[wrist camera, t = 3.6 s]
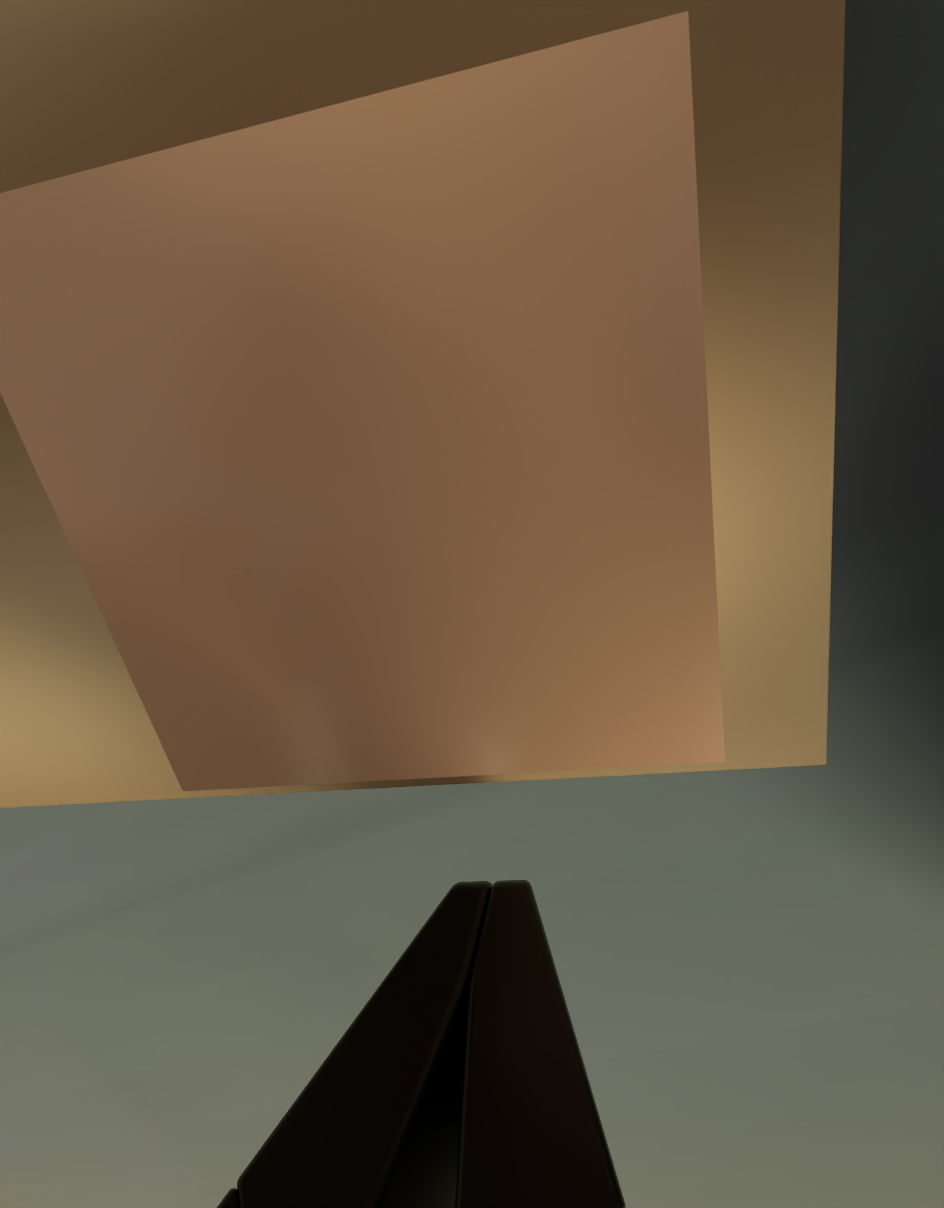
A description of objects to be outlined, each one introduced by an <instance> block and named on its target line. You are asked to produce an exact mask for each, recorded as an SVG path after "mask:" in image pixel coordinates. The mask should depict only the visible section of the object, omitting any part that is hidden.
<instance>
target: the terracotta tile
mask: <svg viewBox="0 0 944 1208" xmlns="http://www.w3.org/2000/svg"><path fill="white" fill-rule="evenodd" d="M0 393H1V395H2V397H3V400H4V402H5V404H6V406H7V408H8V411H9V413H10V415H11V417H12V419H13V422H14V424H15V426H16V428H17V430H18V432H19V435H20V437H21V439H22V441H23V443H24V446H25V448H26V450H27V452H28V454H29V456H30V459H31V461H32V463H33V465H34V467H35V470H36V472H37V474H38V476H39V478H40V480H41V483H42V485H43V487H44V489H45V491H46V494H47V496H48V498H49V500H50V502H51V505H52V507H53V509H54V511H55V513H56V515H57V518H58V520H59V522H60V524H61V526H62V529H63V531H64V533H65V535H66V537H67V539H68V542H69V544H70V546H71V548H72V550H73V553H74V555H75V557H76V559H77V561H78V563H79V566H80V568H81V570H82V572H83V574H84V577H85V579H86V581H87V583H88V585H89V588H90V590H91V592H92V594H93V596H94V598H95V601H96V603H97V605H98V607H99V609H100V612H101V614H102V616H103V618H104V620H105V622H106V625H107V627H108V629H109V631H110V633H111V636H112V638H113V640H114V642H115V644H116V646H117V649H118V651H119V653H120V655H121V657H122V660H123V662H124V664H125V666H126V668H127V671H128V673H129V675H130V677H131V679H132V681H133V684H134V686H135V688H136V690H137V692H138V695H139V697H140V699H141V701H142V703H143V705H144V708H145V710H146V712H147V714H148V716H149V719H150V721H151V723H152V725H153V727H154V729H155V732H156V734H157V736H158V738H159V740H160V743H161V745H162V747H163V749H164V751H165V754H166V756H167V758H168V760H169V762H170V764H171V767H172V769H173V771H174V773H175V775H176V778H177V780H178V782H179V784H180V786H181V788H182V791H201V790H219V789H238V788H256V787H274V786H293V785H311V784H329V783H348V782H366V781H385V780H403V779H421V778H440V777H458V776H476V775H495V774H513V773H531V772H550V771H568V770H587V769H605V768H623V767H642V766H660V765H678V764H697V763H715V762H725V750H724V730H723V710H722V689H721V669H720V649H719V628H718V608H717V587H716V567H715V547H714V526H713V506H712V486H711V465H710V445H709V425H708V404H707V384H706V364H705V343H704V323H703V302H702V282H701V262H700V241H699V221H698V201H697V180H696V160H695V140H694V119H693V99H692V79H691V58H690V38H689V17H688V11H686V12H682V13H678V14H674V15H671V16H667V17H663V18H659V19H655V20H652V21H648V22H644V23H640V24H637V25H633V26H629V27H625V28H621V29H618V30H614V31H610V32H606V33H603V34H599V35H595V36H591V37H588V38H584V39H580V40H576V41H572V42H569V43H565V44H561V45H557V46H554V47H550V48H546V49H542V50H538V51H535V52H531V53H527V54H523V55H520V56H516V57H512V58H508V59H505V60H501V61H497V62H493V63H489V64H486V65H482V66H478V67H474V68H471V69H467V70H463V71H459V72H455V73H452V74H448V75H444V76H440V77H437V78H433V79H429V80H425V81H421V82H418V83H414V84H410V85H406V86H403V87H399V88H395V89H391V90H388V91H384V92H380V93H376V94H372V95H369V96H365V97H361V98H357V99H354V100H350V101H346V102H342V103H338V104H335V105H331V106H327V107H323V108H320V109H316V110H312V111H308V112H305V113H301V114H297V115H293V116H289V117H286V118H282V119H278V120H274V121H271V122H267V123H263V124H259V125H255V126H252V127H248V128H244V129H240V130H237V131H233V132H229V133H225V134H221V135H218V136H214V137H210V138H206V139H203V140H199V141H195V142H191V143H188V144H184V145H180V146H176V147H172V148H169V149H165V150H161V151H157V152H154V153H150V154H146V155H142V156H138V157H135V158H131V159H127V160H123V161H120V162H116V163H112V164H108V165H105V166H101V167H97V168H93V169H89V170H86V171H82V172H78V173H74V174H71V175H67V176H63V177H59V178H55V179H52V180H48V181H44V182H40V183H37V184H33V185H29V186H25V187H22V188H18V189H14V190H10V191H6V192H3V193H0Z"/></svg>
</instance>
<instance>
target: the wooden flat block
mask: <svg viewBox="0 0 944 1208" xmlns="http://www.w3.org/2000/svg"><path fill="white" fill-rule="evenodd" d="M686 11H688V17H689V38H690V58H691V79H692V99H693V119H694V140H695V160H696V180H697V201H698V221H699V241H700V262H701V282H702V302H703V323H704V343H705V364H706V384H707V404H708V425H709V445H710V465H711V486H712V506H713V526H714V547H715V567H716V587H717V608H718V628H719V649H720V669H721V689H722V710H723V730H724V750H725V762H715V763H697V764H678V765H660V766H642V767H623V768H605V769H587V770H568V771H550V772H531V773H513V774H495V775H476V776H458V777H440V778H421V779H403V780H385V781H366V782H348V783H329V784H311V785H293V786H274V787H256V788H238V789H219V790H201V791H182V788H181V786H180V784H179V782H178V780H177V778H176V775H175V773H174V771H173V769H172V767H171V764H170V762H169V760H168V758H167V756H166V754H165V751H164V749H163V747H162V745H161V743H160V740H159V738H158V736H157V734H156V732H155V729H154V727H153V725H152V723H151V721H150V719H149V716H148V714H147V712H146V710H145V708H144V705H143V703H142V701H141V699H140V697H139V695H138V692H137V690H136V688H135V686H134V684H133V681H132V679H131V677H130V675H129V673H128V671H127V668H126V666H125V664H124V662H123V660H122V657H121V655H120V653H119V651H118V649H117V646H116V644H115V642H114V640H113V638H112V636H111V633H110V631H109V629H108V627H107V625H106V622H105V620H104V618H103V616H102V614H101V612H100V609H99V607H98V605H97V603H96V601H95V598H94V596H93V594H92V592H91V590H90V588H89V585H88V583H87V581H86V579H85V577H84V574H83V572H82V570H81V568H80V566H79V563H78V561H77V559H76V557H75V555H74V553H73V550H72V548H71V546H70V544H69V542H68V539H67V537H66V535H65V533H64V531H63V529H62V526H61V524H60V522H59V520H58V518H57V515H56V513H55V511H54V509H53V507H52V505H51V502H50V500H49V498H48V496H47V494H46V491H45V489H44V487H43V485H42V483H41V480H40V478H39V476H38V474H37V472H36V470H35V467H34V465H33V463H32V461H31V459H30V456H29V454H28V452H27V450H26V448H25V446H24V443H23V441H22V439H21V437H20V435H19V432H18V430H17V428H16V426H15V424H14V422H13V419H12V417H11V415H10V413H9V411H8V408H7V406H6V404H5V402H4V400H3V397H2V395H1V393H0V808H6V807H25V806H44V805H63V804H82V803H102V802H121V801H140V800H159V799H178V798H197V797H216V796H236V795H255V794H274V793H293V792H312V791H331V790H350V789H369V788H389V787H408V786H427V785H446V784H465V783H484V782H503V781H523V780H542V779H561V778H580V777H599V776H618V775H637V774H657V773H676V772H695V771H714V770H733V769H752V768H771V767H791V766H810V765H826V751H827V712H828V672H829V633H830V593H831V553H832V514H833V474H834V435H835V395H836V356H837V316H838V276H839V237H840V197H841V158H842V118H843V79H844V39H845V0H0V193H3V192H6V191H10V190H14V189H18V188H22V187H25V186H29V185H33V184H37V183H40V182H44V181H48V180H52V179H55V178H59V177H63V176H67V175H71V174H74V173H78V172H82V171H86V170H89V169H93V168H97V167H101V166H105V165H108V164H112V163H116V162H120V161H123V160H127V159H131V158H135V157H138V156H142V155H146V154H150V153H154V152H157V151H161V150H165V149H169V148H172V147H176V146H180V145H184V144H188V143H191V142H195V141H199V140H203V139H206V138H210V137H214V136H218V135H221V134H225V133H229V132H233V131H237V130H240V129H244V128H248V127H252V126H255V125H259V124H263V123H267V122H271V121H274V120H278V119H282V118H286V117H289V116H293V115H297V114H301V113H305V112H308V111H312V110H316V109H320V108H323V107H327V106H331V105H335V104H338V103H342V102H346V101H350V100H354V99H357V98H361V97H365V96H369V95H372V94H376V93H380V92H384V91H388V90H391V89H395V88H399V87H403V86H406V85H410V84H414V83H418V82H421V81H425V80H429V79H433V78H437V77H440V76H444V75H448V74H452V73H455V72H459V71H463V70H467V69H471V68H474V67H478V66H482V65H486V64H489V63H493V62H497V61H501V60H505V59H508V58H512V57H516V56H520V55H523V54H527V53H531V52H535V51H538V50H542V49H546V48H550V47H554V46H557V45H561V44H565V43H569V42H572V41H576V40H580V39H584V38H588V37H591V36H595V35H599V34H603V33H606V32H610V31H614V30H618V29H621V28H625V27H629V26H633V25H637V24H640V23H644V22H648V21H652V20H655V19H659V18H663V17H667V16H671V15H674V14H678V13H682V12H686Z"/></svg>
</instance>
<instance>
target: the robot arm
mask: <svg viewBox="0 0 944 1208" xmlns="http://www.w3.org/2000/svg"><path fill="white" fill-rule="evenodd" d="M237 1189H238V1190H237ZM237 1189H236V1188H232V1189H230V1190H229V1192H228V1193H227V1194H226V1196H225V1197H224V1199H223V1200H222V1201H221V1203H220V1204H219V1205H218V1207H217V1208H626V1206H625V1202H624V1198H623V1195H622V1192H621V1188H620V1185H619V1182H618V1178H617V1175H616V1171H615V1168H614V1165H613V1161H612V1158H611V1154H610V1151H609V1148H608V1144H607V1141H606V1137H605V1134H604V1131H603V1127H602V1124H601V1120H600V1117H599V1114H598V1110H597V1107H596V1103H595V1100H594V1097H593V1093H592V1090H591V1086H590V1083H589V1080H588V1076H587V1073H586V1069H585V1066H584V1063H583V1059H582V1056H581V1053H580V1049H579V1046H578V1042H577V1039H576V1036H575V1032H574V1029H573V1025H572V1022H571V1019H570V1015H569V1012H568V1008H567V1005H566V1002H565V998H564V995H563V991H562V988H561V985H560V981H559V978H558V974H557V971H556V968H555V964H554V961H553V957H552V954H551V951H550V947H549V944H548V940H547V937H546V934H545V930H544V927H543V924H542V920H541V917H540V913H539V910H538V907H537V903H536V900H535V896H534V893H533V890H532V886H531V884H530V883H529V882H528V881H527V880H506V881H497V882H495V883H494V884H493V885H492V884H491V883H490V882H487V881H474V882H459V883H457V884H455V885H454V886H453V887H452V888H451V889H450V890H449V892H448V893H447V894H446V896H445V897H444V899H443V900H442V901H441V903H440V904H439V905H438V907H437V908H436V910H435V911H434V912H433V914H432V915H431V916H430V918H429V919H428V920H427V922H426V923H425V925H424V926H423V927H422V929H421V930H420V931H419V933H418V934H417V935H416V937H415V938H414V940H413V941H412V942H411V944H410V945H409V946H408V948H407V949H406V950H405V952H404V953H403V955H402V956H401V957H400V959H399V960H398V961H397V963H396V964H395V966H394V967H393V968H392V970H391V971H390V972H389V974H388V975H387V976H386V978H385V979H384V981H383V982H382V983H381V985H380V986H379V987H378V989H377V990H376V991H375V993H374V994H373V996H372V997H371V998H370V1000H369V1001H368V1002H367V1004H366V1005H365V1006H364V1008H363V1009H362V1011H361V1012H360V1013H359V1015H358V1016H357V1017H356V1019H355V1020H354V1022H353V1023H352V1024H351V1026H350V1027H349V1028H348V1030H347V1031H346V1032H345V1034H344V1035H343V1037H342V1038H341V1039H340V1041H339V1042H338V1043H337V1045H336V1046H335V1047H334V1049H333V1050H332V1052H331V1053H330V1054H329V1056H328V1057H327V1058H326V1060H325V1061H324V1062H323V1064H322V1065H321V1067H320V1068H319V1069H318V1071H317V1072H316V1073H315V1075H314V1076H313V1078H312V1079H311V1080H310V1082H309V1083H308V1084H307V1086H306V1087H305V1088H304V1090H303V1091H302V1093H301V1094H300V1095H299V1097H298V1098H297V1099H296V1101H295V1102H294V1103H293V1105H292V1106H291V1108H290V1109H289V1110H288V1112H287V1113H286V1114H285V1116H284V1117H283V1118H282V1120H281V1121H280V1123H279V1124H278V1125H277V1127H276V1128H275V1129H274V1131H273V1132H272V1134H271V1135H270V1136H269V1138H268V1139H267V1140H266V1142H265V1143H264V1144H263V1146H262V1147H261V1149H260V1150H259V1151H258V1153H257V1154H256V1155H255V1157H254V1158H253V1159H252V1161H251V1162H250V1164H249V1165H248V1166H247V1168H246V1169H245V1170H244V1172H243V1173H242V1174H241V1176H240V1177H239V1179H238V1181H237Z"/></svg>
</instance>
